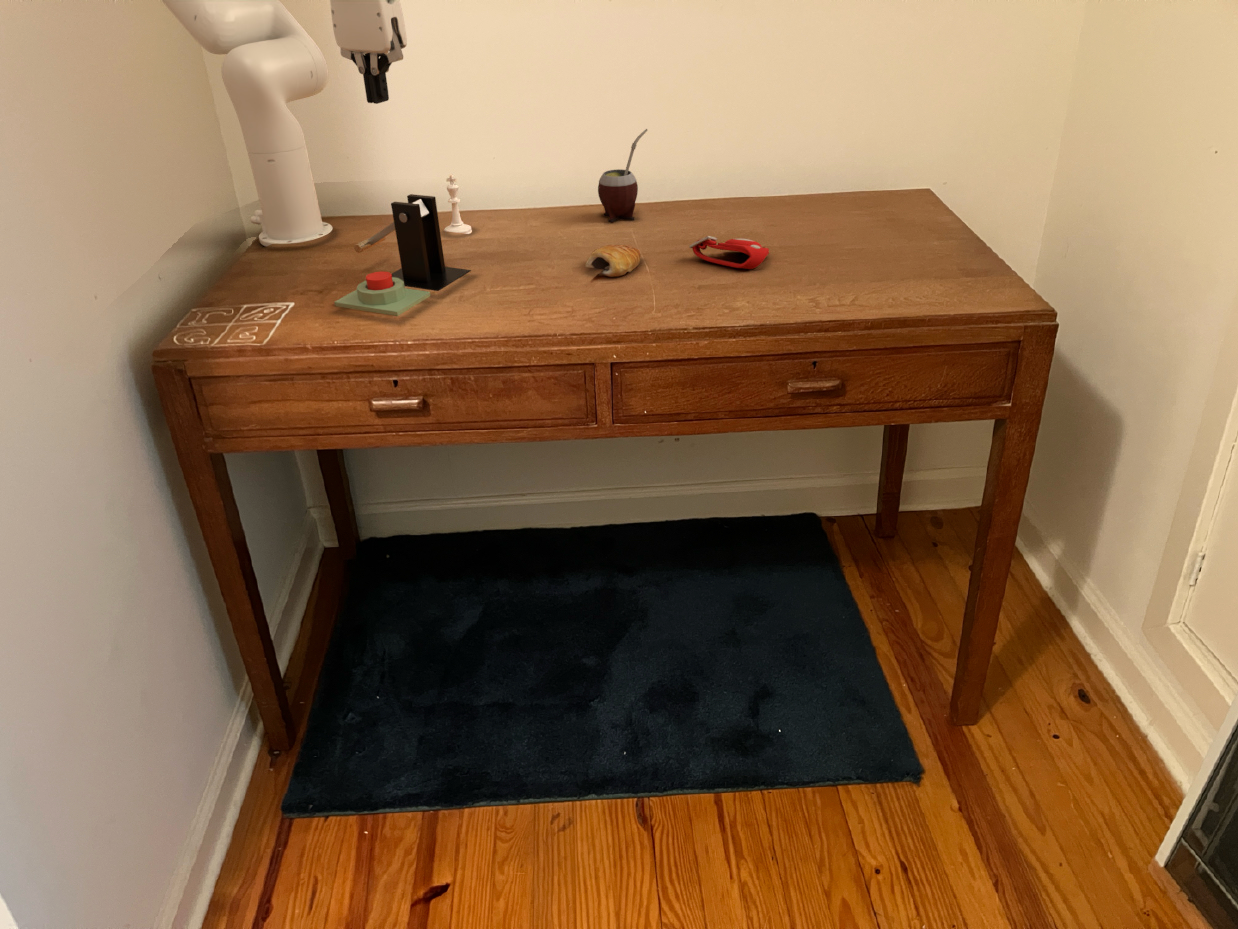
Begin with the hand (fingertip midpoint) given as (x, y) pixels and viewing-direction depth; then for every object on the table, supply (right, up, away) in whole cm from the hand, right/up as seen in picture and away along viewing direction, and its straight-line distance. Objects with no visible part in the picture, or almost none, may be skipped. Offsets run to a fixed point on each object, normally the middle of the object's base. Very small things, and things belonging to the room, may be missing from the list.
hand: (378, 101), depth 138 cm
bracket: (+7, -27, +3) cm, 28 cm away
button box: (+2, -32, -5) cm, 33 cm away
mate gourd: (+37, -10, +28) cm, 47 cm away
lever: (+3, -20, 0) cm, 20 cm away
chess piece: (+8, -14, +24) cm, 29 cm away
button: (+2, -29, -7) cm, 30 cm away
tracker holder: (+54, -23, +7) cm, 59 cm away
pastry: (+36, -24, +5) cm, 43 cm away
